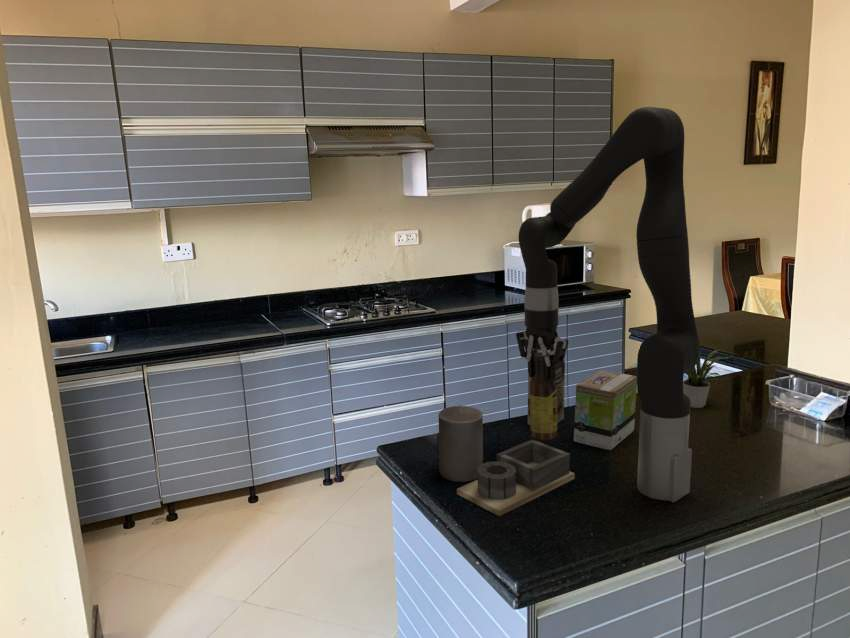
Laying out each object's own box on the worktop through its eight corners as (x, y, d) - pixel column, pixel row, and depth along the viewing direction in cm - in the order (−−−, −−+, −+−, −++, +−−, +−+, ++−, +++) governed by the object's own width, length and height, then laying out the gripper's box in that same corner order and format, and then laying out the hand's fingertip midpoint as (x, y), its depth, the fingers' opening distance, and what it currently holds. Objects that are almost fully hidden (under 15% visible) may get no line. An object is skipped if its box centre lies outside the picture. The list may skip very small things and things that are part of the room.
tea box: (612, 452, 150) (615, 391, 146) (572, 442, 156) (573, 384, 152) (635, 430, 161) (638, 374, 158) (597, 422, 167) (598, 368, 164)
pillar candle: (433, 466, 145) (431, 404, 141) (472, 459, 148) (471, 397, 145) (449, 486, 136) (448, 419, 132) (491, 477, 139) (490, 412, 136)
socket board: (574, 478, 137) (575, 453, 136) (499, 516, 123) (499, 489, 122) (531, 460, 146) (531, 437, 145) (456, 494, 132) (456, 468, 131)
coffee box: (549, 430, 163) (550, 369, 160) (526, 425, 167) (527, 365, 164) (565, 419, 170) (566, 360, 167) (542, 414, 174) (543, 356, 171)
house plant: (731, 401, 179) (736, 344, 176) (724, 417, 168) (729, 357, 165) (678, 393, 187) (681, 338, 183) (667, 408, 176) (670, 350, 172)
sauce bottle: (559, 441, 148) (559, 357, 144) (532, 441, 148) (531, 358, 144) (554, 430, 154) (554, 350, 150) (528, 431, 154) (527, 351, 150)
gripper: (577, 307, 142) (576, 381, 146) (528, 300, 153) (528, 369, 156) (555, 312, 137) (555, 389, 141) (506, 304, 148) (507, 375, 152)
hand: (541, 378), depth 149 cm, fingers closed on sauce bottle, 4 cm apart
